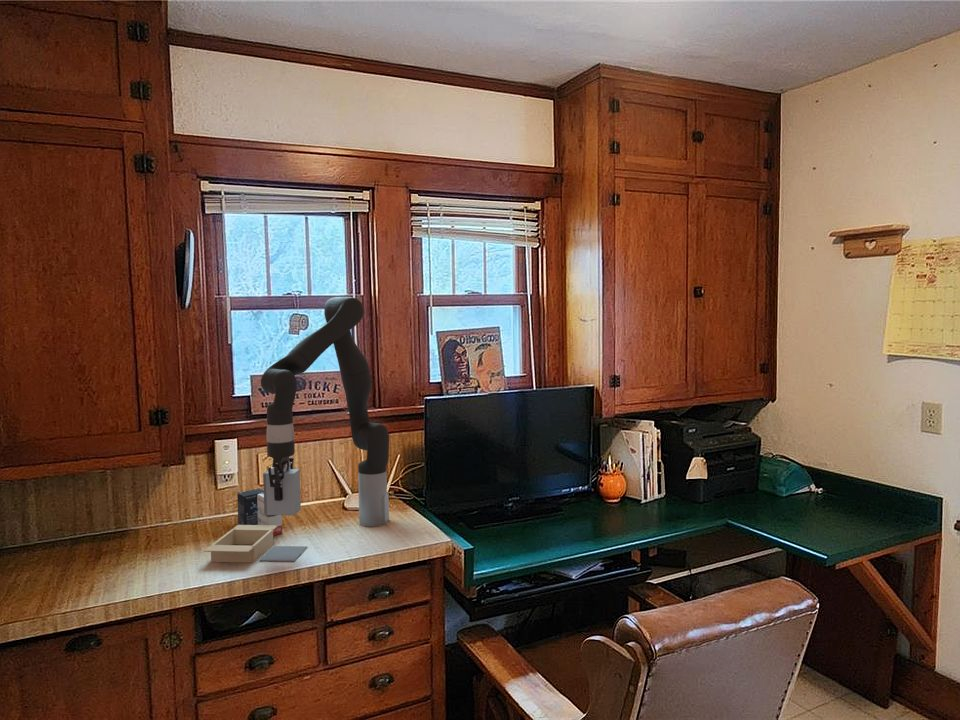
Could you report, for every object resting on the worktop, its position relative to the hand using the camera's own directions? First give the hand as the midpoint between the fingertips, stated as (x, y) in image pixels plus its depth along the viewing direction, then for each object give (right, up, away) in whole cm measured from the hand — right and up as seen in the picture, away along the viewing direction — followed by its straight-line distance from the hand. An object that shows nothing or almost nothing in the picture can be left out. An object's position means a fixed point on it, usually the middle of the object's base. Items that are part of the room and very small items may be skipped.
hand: (282, 497), depth 189 cm
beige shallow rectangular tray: (-12, -17, +3) cm, 21 cm away
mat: (0, -17, +1) cm, 17 cm away
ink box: (-10, -15, +21) cm, 28 cm away
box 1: (-19, -15, +29) cm, 38 cm away
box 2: (0, -4, 0) cm, 4 cm away
